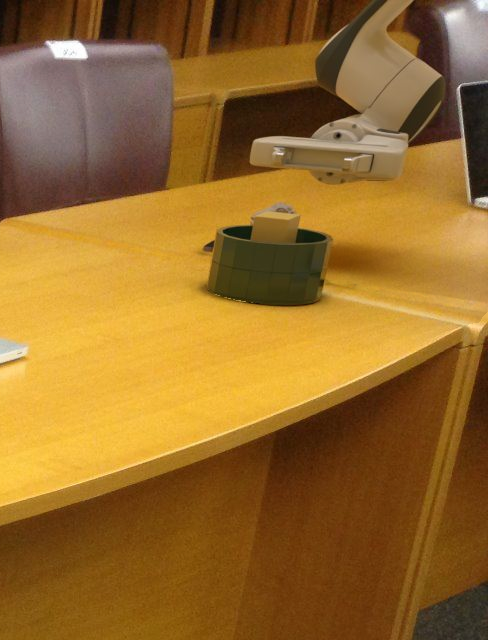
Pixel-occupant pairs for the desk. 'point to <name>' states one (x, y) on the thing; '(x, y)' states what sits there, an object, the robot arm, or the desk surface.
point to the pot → (269, 267)
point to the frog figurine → (275, 210)
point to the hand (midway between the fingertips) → (312, 162)
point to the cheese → (275, 227)
